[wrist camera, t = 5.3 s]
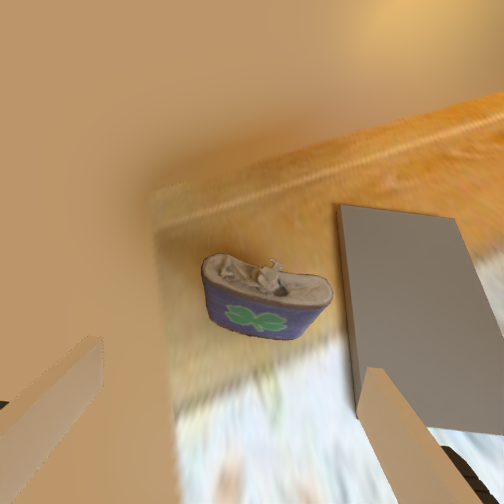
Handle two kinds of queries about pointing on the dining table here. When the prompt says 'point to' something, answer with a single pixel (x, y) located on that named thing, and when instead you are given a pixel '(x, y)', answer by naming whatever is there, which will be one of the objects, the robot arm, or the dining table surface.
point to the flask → (262, 297)
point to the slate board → (421, 317)
